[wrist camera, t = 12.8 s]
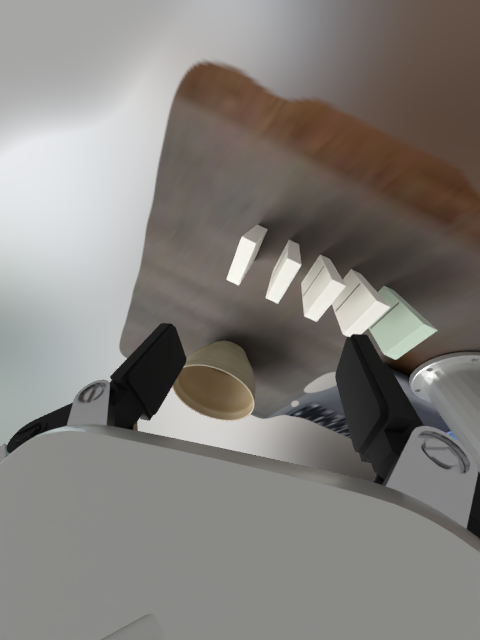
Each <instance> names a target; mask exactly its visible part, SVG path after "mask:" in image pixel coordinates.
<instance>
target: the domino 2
mask: <svg viewBox="0 0 480 640" xmlns="http://www.w3.org/2000/svg"><path fill="white" fill-rule="evenodd" d="M300 267H301V257H300V249H299V244H297V243H295V242H293V241H291V240H288V242H287V244H286V246H285V248H284V250H283V252H282V254H281V256H280V258H279V260H278V262H277V264H276V266H275V268H274V270H273V273H272V276H271V280H270V283H269V287H268V291H267V294H266V298H267V299H269V300H271V301H273V302H275V303H277V304H278V303H279V301H280V299H281V298H282V296H283V295H284V293H285V291H286V290H287V288H288V286H289V285H290V283H291V281H292V280H293V278H294V276H295V275H296V273H297V271H298V270H299V268H300Z"/></svg>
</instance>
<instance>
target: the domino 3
mask: <svg viewBox="0 0 480 640" xmlns="http://www.w3.org/2000/svg"><path fill="white" fill-rule="evenodd" d="M301 287H302V298H303V308H304V316H305V317H307V318H309V319H312V320H314V321H316V322H317V321H318V320H319V318H320V317H321V316H322V315H323V314H324V312H325V311H326V310H327V309H328V307H329V306H330V305H331V304H332V303H333V301H334V300H335V299H336V298H337V297H338V295H339V294H340V293H341V292H342V291H343V289H344V288H345V287H346V285H345V283H344V281H343V280H342V278H341V276H340V275H339V273H338V271H337V270H336V268H335V266H334V265H333V263H332V262H331V260H330V259H329V258H327V257H325V256H323V255H319V257H318V258H317V260H316V261H315V263H314V265H313V266H312V268H311V269H310V271H309V272H308V274H307V275H306V277H305V278H304V280H303V281H302V283H301Z"/></svg>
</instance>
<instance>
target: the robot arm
mask: <svg viewBox="0 0 480 640" xmlns="http://www.w3.org/2000/svg"><path fill="white" fill-rule="evenodd" d="M185 364H186V356H185V353H184V350H183V347H182V344H181V342H180V339H179V336H178V333H177V330H176V328H175V327H174V326H173V325H172V324H167V323H162V324H160V325H159V326H158V327H157V328H156V329H155V330H154V331H153V332H152V334H151V335H150V336H149V337H148V338H147V339H146V340H145V341H144V342H143V343H142V344H141V345H140V346H139V347H138V348H137V349H136V350H135V351H134V352H133V353H132V354H131V355H130V357H129V358H128V359H127V360H126V361H125V362H124V363H123V364H122V365H121V366H120V367H119V368H118V369H117V370H116V371H115V372H114V373H113V374H112V375H111V377H110V378H111V379H112V381H111V382H110V383H109V382H108V381H107V380H98V381H95V382H92V383H90V384H88V385H87V386H86V387H84V388H83V389H82V390H80V391H79V392H78V394H77V395H76V396H75V399H74V401H73V403H71V404H69V405H67V406H65V407H62V408H60V409H58V410H56V411H53V412H51V413H49V414H47V415H45V416H43V417H40V418H38V419H36V420H34V421H32V422H30V423H28V424H27V425H25V426H24V427H22V428H21V429H20V430H19V431H18V432H17V433H16V434H15V435H14V436H13V437H12V438H11V439H10V441H9V443H8V445H6V444H3V445H2V446H0V640H480V352H458V353H451V354H446V355H442V356H439V357H436V358H433V359H431V360H429V361H427V362H425V363H423V364H421V365H420V366H419V367H418V368H416V369H415V370H414V372H413V373H412V374H411V376H410V378H409V385H410V388H411V389H412V391H413V392H414V394H415V395H416V396H418V397H419V398H420V399H422V400H425V401H427V402H430V403H433V405H434V406H435V408H436V409H437V411H438V412H439V414H440V415H441V417H442V418H443V420H444V421H445V423H446V424H447V426H448V427H449V429H450V430H451V431H452V433H453V434H454V436H455V437H456V439H457V440H456V439H455V438H453V437H452V436H450V435H449V434H447V433H445V432H443V431H441V430H439V429H436V428H433V427H429V426H424V425H423V423H422V422H421V420H420V418H419V417H418V415H417V413H416V411H415V410H414V408H413V406H412V405H411V403H410V401H409V400H408V398H407V396H406V394H405V393H404V391H403V389H402V388H401V386H400V384H399V383H398V381H397V379H396V378H395V376H394V374H393V372H392V371H391V369H390V368H389V366H388V365H386V364H383V362H382V360H381V359H380V357H379V355H378V353H377V352H376V350H375V348H374V346H373V344H372V343H371V341H370V339H369V337H368V336H367V335H361V334H352V335H351V337H347V339H346V342H345V345H344V348H343V352H342V355H341V358H340V361H339V364H338V368H337V371H336V382H337V386H338V390H339V394H340V398H341V401H342V405H343V409H344V413H345V417H346V420H347V424H348V428H349V432H350V436H351V439H352V443H353V447H354V449H355V451H356V452H359V454H360V457H361V461H364V462H369V463H372V467H373V469H374V472H376V475H375V477H374V479H373V481H372V482H370V481H366V480H363V479H359V478H356V477H351V476H347V475H342V474H338V473H334V472H330V471H325V470H321V469H317V468H312V467H308V466H303V465H298V464H294V463H289V462H284V461H280V460H275V459H270V458H265V457H261V456H256V455H252V454H247V453H242V452H237V451H232V450H227V449H223V448H218V447H213V446H208V445H204V444H199V443H194V442H189V441H184V440H179V439H175V438H169V437H165V436H159V435H154V434H150V433H145V432H140V431H138V429H137V421H138V419H139V418H141V419H144V420H150V419H151V418H152V416H153V415H155V414H156V413H157V411H158V409H159V408H160V406H161V404H162V403H163V401H164V399H165V398H166V396H167V394H168V392H169V391H170V389H171V387H172V386H173V384H174V382H175V381H176V379H177V377H178V376H179V374H180V372H181V371H182V369H183V367H184V365H185Z"/></svg>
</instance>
